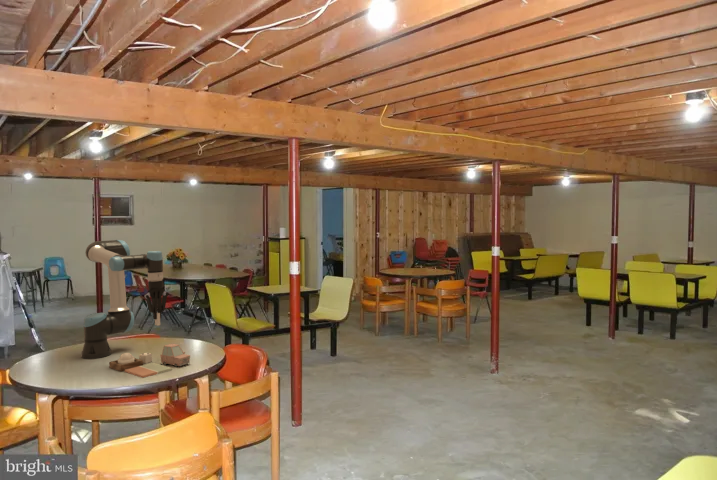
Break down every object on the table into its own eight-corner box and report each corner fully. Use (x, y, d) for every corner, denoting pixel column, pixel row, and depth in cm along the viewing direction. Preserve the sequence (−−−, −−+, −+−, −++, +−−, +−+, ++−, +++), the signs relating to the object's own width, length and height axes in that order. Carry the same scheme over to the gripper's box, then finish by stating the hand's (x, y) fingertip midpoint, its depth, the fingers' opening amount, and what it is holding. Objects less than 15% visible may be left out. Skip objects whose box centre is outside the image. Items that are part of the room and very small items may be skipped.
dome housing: (109, 367, 284) (109, 362, 283) (131, 362, 293) (130, 356, 293) (121, 371, 276) (121, 365, 276) (143, 366, 286) (143, 360, 286)
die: (139, 362, 292) (139, 353, 292) (145, 360, 296) (145, 351, 296) (145, 363, 290) (145, 354, 290) (151, 361, 294) (151, 352, 294)
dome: (115, 365, 284) (114, 353, 284) (129, 362, 290) (129, 350, 290) (122, 368, 279) (122, 355, 279) (137, 364, 285) (137, 352, 285)
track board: (124, 371, 276) (124, 369, 276) (153, 364, 289) (153, 362, 289) (142, 377, 266) (142, 375, 266) (171, 369, 278) (171, 368, 278)
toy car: (178, 368, 281) (178, 349, 280) (158, 364, 289) (157, 346, 288) (192, 364, 289) (191, 345, 288) (172, 360, 297) (172, 342, 296)
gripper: (147, 282, 277) (149, 328, 278) (170, 279, 287) (172, 323, 288) (140, 281, 282) (142, 326, 283) (163, 278, 292) (165, 322, 293)
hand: (157, 325), depth 286 cm, fingers closed
